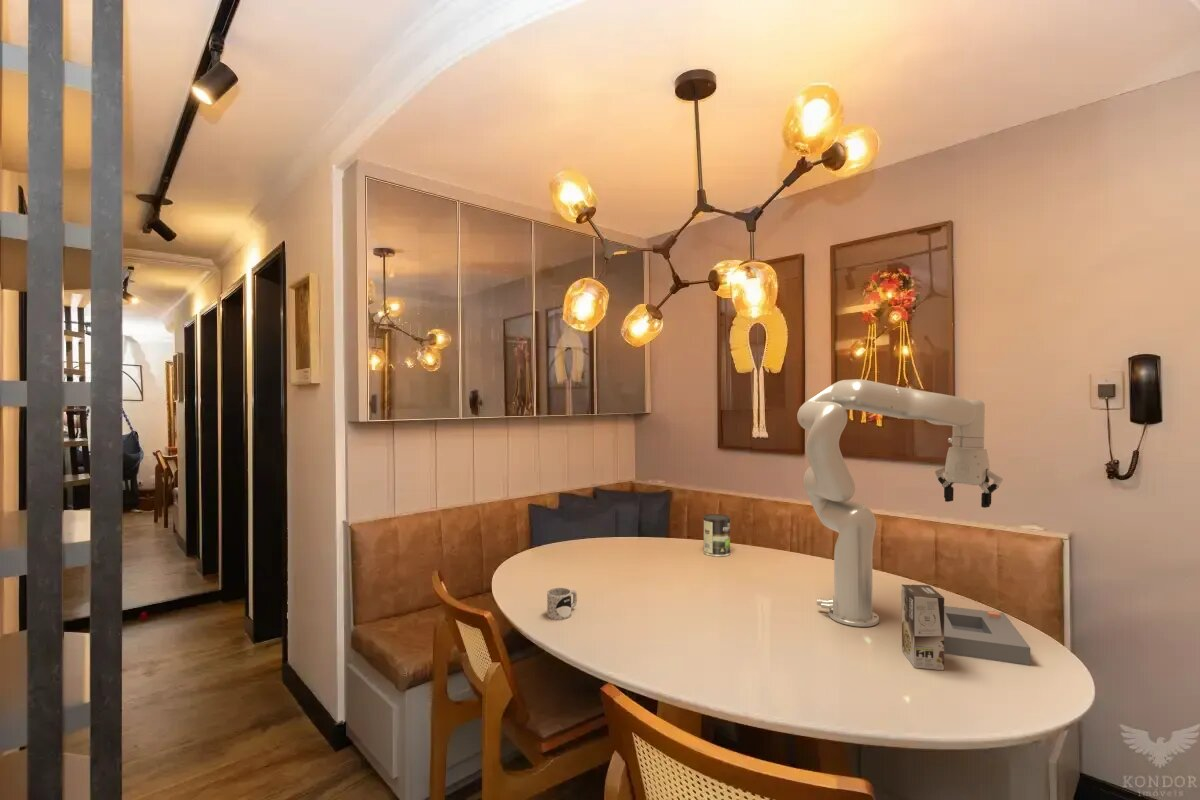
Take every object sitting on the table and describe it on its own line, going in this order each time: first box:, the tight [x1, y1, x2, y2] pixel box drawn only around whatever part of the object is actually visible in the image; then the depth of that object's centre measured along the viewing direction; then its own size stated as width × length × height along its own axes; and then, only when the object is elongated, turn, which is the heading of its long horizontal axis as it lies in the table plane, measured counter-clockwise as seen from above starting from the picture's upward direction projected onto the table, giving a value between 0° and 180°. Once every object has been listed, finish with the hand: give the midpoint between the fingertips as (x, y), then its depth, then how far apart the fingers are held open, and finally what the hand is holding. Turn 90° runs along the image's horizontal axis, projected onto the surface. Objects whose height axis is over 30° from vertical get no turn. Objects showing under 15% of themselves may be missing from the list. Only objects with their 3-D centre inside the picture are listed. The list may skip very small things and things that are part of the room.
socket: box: [944, 605, 1031, 666], centre depth 142 cm, size 20×22×5 cm
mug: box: [546, 587, 578, 621], centre depth 161 cm, size 10×7×7 cm, turn 138°
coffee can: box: [702, 513, 731, 558], centre depth 221 cm, size 10×10×14 cm
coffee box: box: [901, 584, 945, 671], centre depth 131 cm, size 9×6×16 cm
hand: (966, 504), depth 161 cm, fingers open, 9 cm apart
